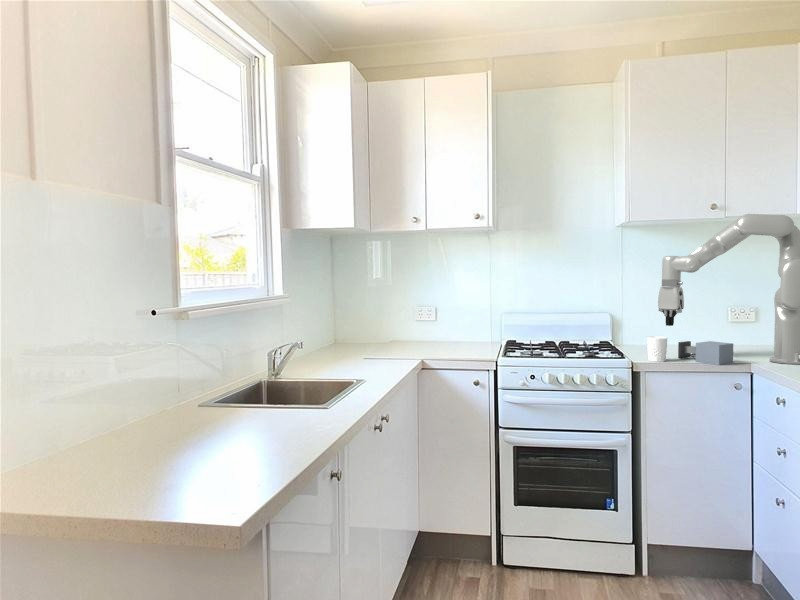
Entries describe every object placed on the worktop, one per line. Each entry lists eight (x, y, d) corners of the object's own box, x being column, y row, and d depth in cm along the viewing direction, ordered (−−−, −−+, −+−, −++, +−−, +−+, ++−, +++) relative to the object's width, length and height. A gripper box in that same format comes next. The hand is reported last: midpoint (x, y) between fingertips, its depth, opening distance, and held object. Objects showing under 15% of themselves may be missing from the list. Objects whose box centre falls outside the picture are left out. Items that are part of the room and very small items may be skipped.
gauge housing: (738, 362, 243) (738, 342, 243) (718, 365, 236) (719, 345, 236) (690, 356, 261) (691, 338, 261) (671, 358, 254) (671, 340, 253)
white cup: (655, 362, 244) (655, 338, 243) (642, 359, 251) (643, 336, 251) (671, 361, 246) (671, 337, 246) (658, 359, 254) (658, 336, 253)
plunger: (716, 359, 250) (716, 342, 249) (700, 361, 244) (701, 344, 244) (693, 356, 258) (693, 340, 258) (678, 358, 253) (678, 342, 252)
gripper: (692, 284, 254) (690, 326, 255) (661, 283, 267) (659, 323, 268) (681, 284, 250) (679, 327, 251) (650, 283, 263) (649, 324, 264)
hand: (669, 325), depth 259 cm, fingers closed
